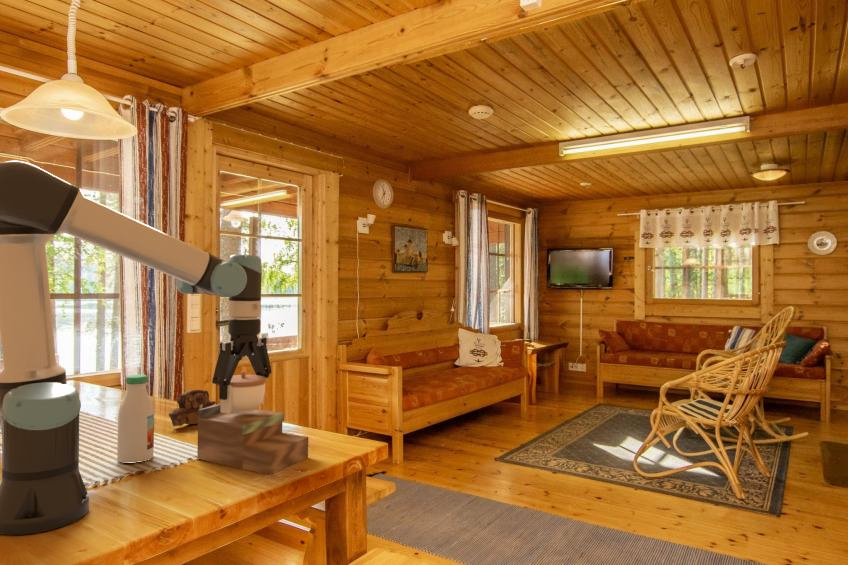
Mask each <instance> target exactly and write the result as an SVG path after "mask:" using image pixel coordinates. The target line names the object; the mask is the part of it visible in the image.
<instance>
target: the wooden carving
mask: <svg viewBox="0 0 848 565" xmlns="http://www.w3.org/2000/svg"><path fill="white" fill-rule="evenodd" d="M176 403H177V404H178V407H177V408H173V409H172V410H171V411H170V412H169V413H168V417H169V419H170V421H171V423H172V426H173V427H181V426H183V425H196V424H197V425H198V409H202V408H206V407H210V406H214V405H216V401H215V400H212V401H210V394H209V391H208V390H203V389H189V390H186V391H184V392H183V393H182V394H179V395H178V397H177V399H176Z"/></svg>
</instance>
